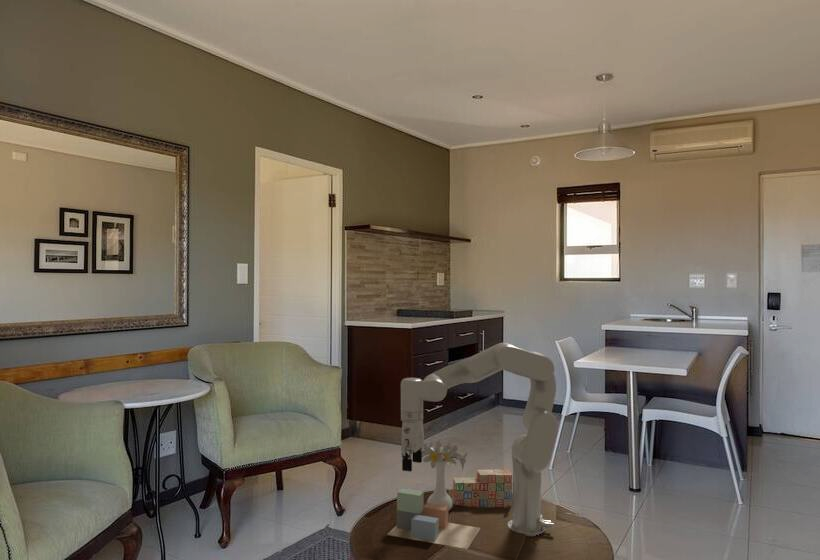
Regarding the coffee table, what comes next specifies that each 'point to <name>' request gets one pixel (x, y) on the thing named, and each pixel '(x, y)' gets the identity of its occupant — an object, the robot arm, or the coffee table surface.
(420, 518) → the dusty blue brick
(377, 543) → the coffee table surface
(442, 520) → the terracotta brick
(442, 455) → the flower vase
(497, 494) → the stack of blocks
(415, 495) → the sage brick
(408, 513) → the charcoal brick
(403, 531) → the birch board
